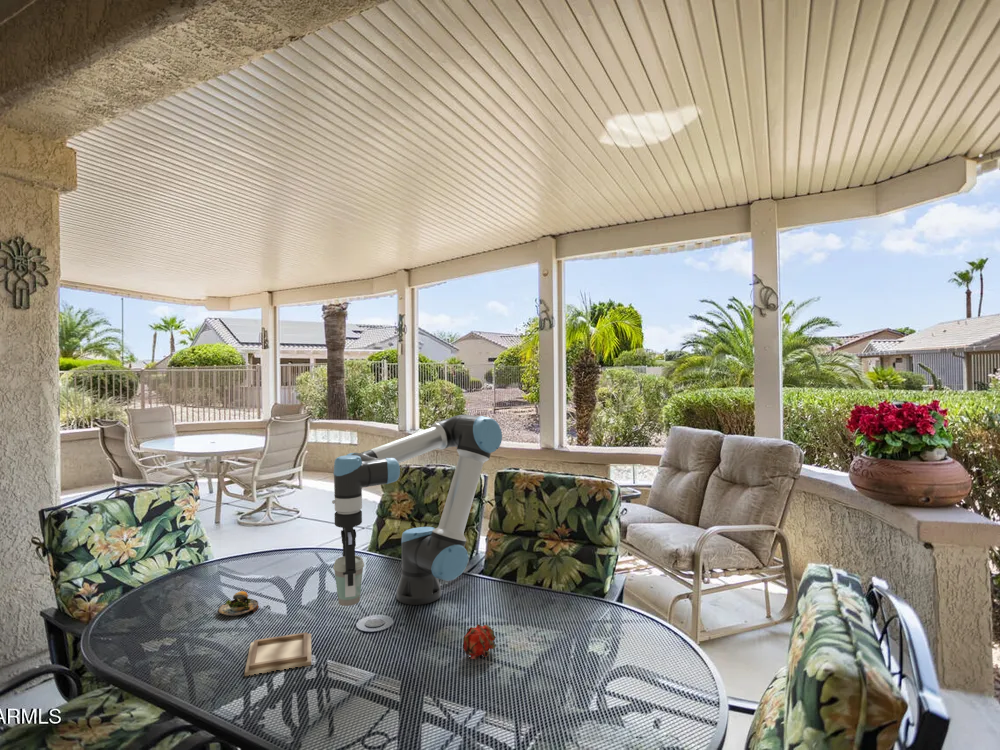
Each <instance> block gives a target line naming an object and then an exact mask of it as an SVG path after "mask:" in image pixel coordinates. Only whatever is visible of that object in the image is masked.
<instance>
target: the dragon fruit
mask: <svg viewBox="0 0 1000 750" xmlns="http://www.w3.org/2000/svg"><path fill="white" fill-rule="evenodd" d="M496 638H497V637H496V635H495V633H494V629H493V628H491V627H490V626H489V625H488V624H484V625H483V626H482V625H481V624H478V623H477V624H476V627H469V628H468V630H467V631H466V632H465V635H464V636H463V642H462V643H463V644H462V649H463V650H464V652H465V654H466V655H468V660H469V659H470V660H477V659H479V658H480V657H479V656H482V655H483V656H484V657H486V658H487V657H488V656H489V655H490V653H491V652H490V649H491V650H494V649H496V647H497V644H496V643H495V640H496ZM469 655H471V657H469ZM483 656H482V657H483ZM484 657H483V658H484Z"/></svg>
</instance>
